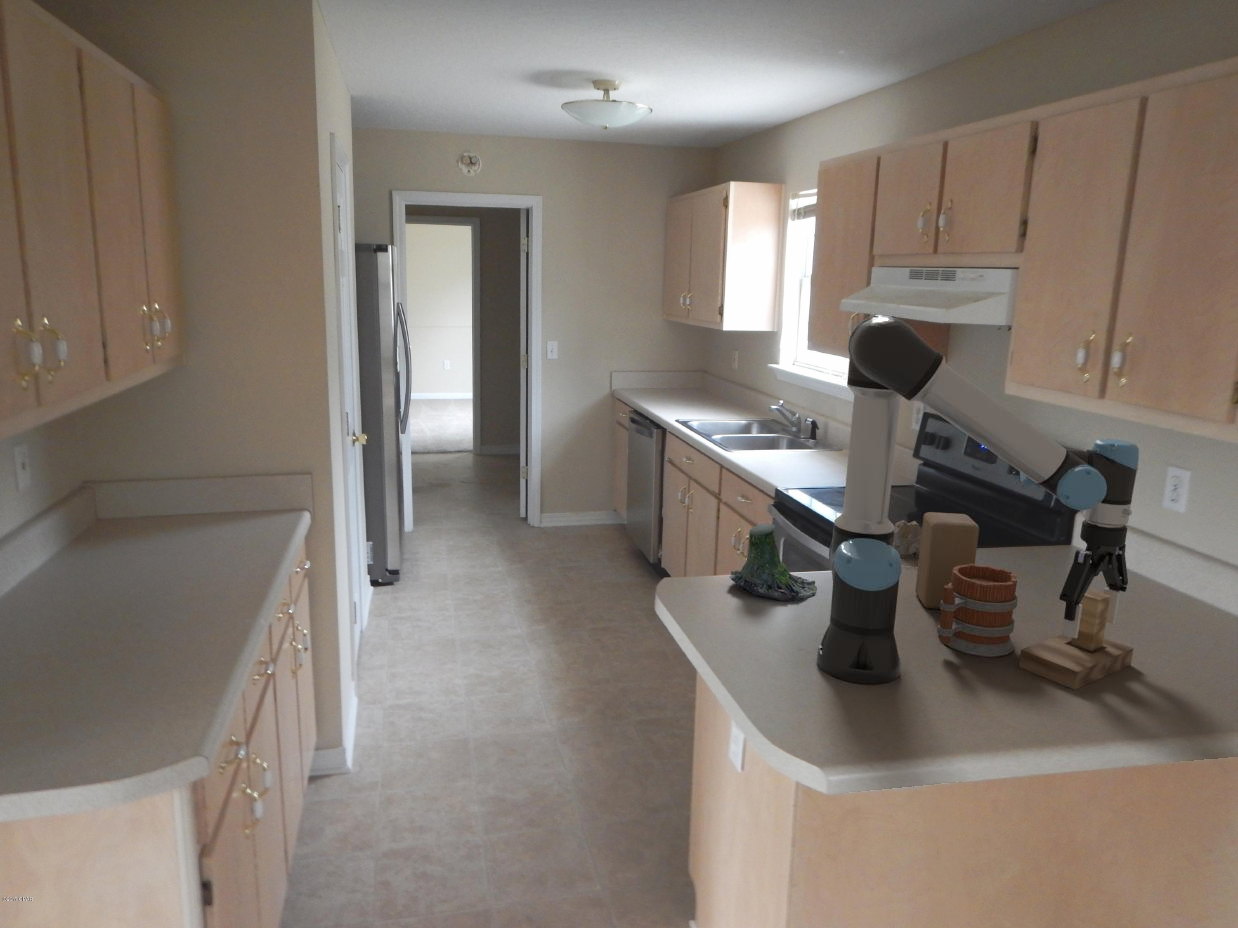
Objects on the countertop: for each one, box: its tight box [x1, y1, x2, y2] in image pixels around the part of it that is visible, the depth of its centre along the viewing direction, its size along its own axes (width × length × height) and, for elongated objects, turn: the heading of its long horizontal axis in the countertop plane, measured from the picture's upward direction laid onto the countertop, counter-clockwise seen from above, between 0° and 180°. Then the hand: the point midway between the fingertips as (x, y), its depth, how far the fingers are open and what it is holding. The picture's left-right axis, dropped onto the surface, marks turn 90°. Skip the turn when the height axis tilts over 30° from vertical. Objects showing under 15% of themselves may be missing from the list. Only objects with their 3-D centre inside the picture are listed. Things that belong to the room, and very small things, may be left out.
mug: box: [936, 564, 1019, 658], centre depth 177 cm, size 14×19×15 cm
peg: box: [1070, 589, 1110, 654], centre depth 171 cm, size 4×4×14 cm
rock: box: [893, 520, 922, 558], centre depth 233 cm, size 9×12×10 cm
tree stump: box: [729, 523, 818, 602], centre depth 206 cm, size 18×20×18 cm
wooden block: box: [914, 511, 980, 610], centre depth 200 cm, size 10×10×20 cm
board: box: [1018, 633, 1134, 690], centre depth 171 cm, size 20×11×4 cm, turn 124°
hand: (1088, 628), depth 171 cm, fingers open, 13 cm apart
